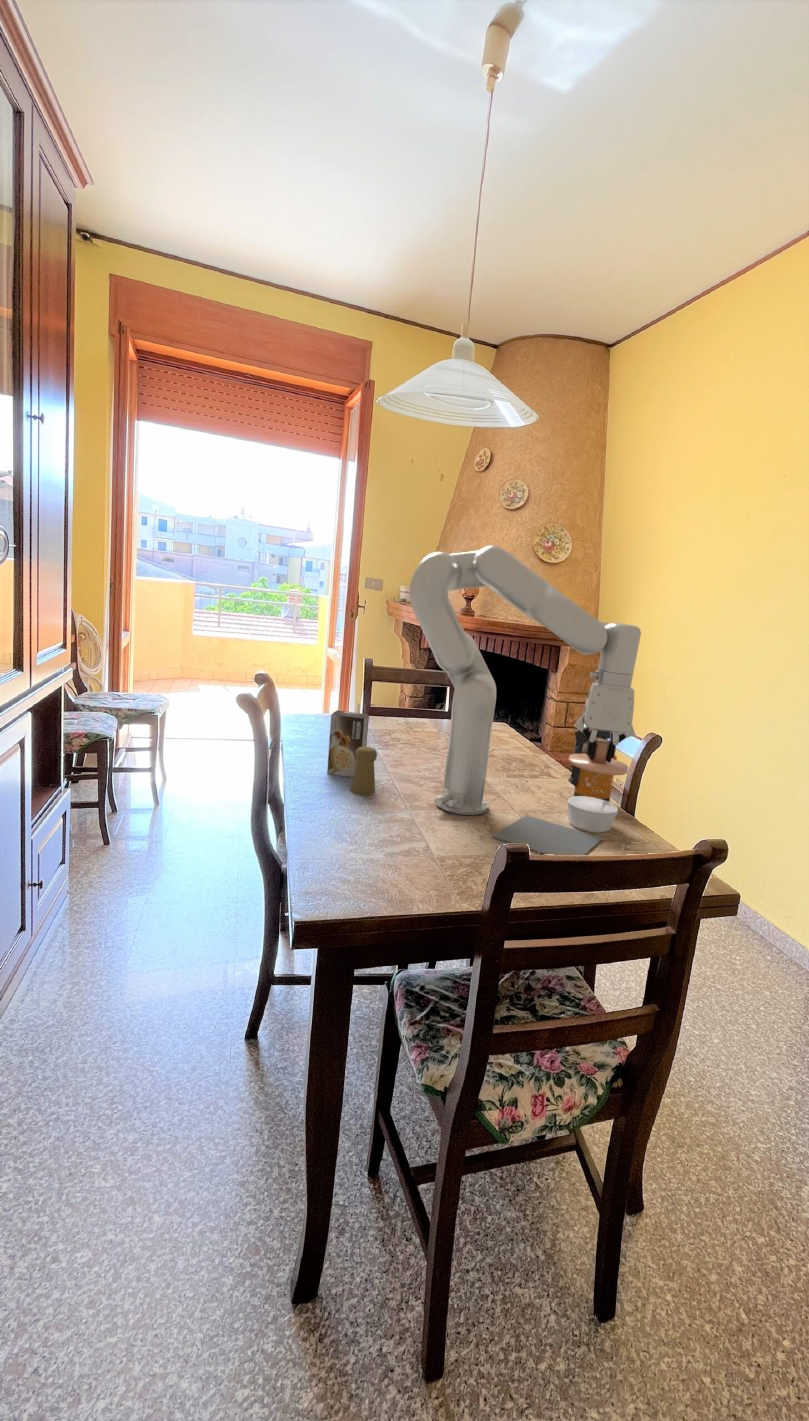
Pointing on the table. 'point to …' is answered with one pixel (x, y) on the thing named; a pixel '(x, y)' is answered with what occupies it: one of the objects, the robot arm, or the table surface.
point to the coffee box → (346, 741)
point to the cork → (364, 771)
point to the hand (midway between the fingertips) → (598, 758)
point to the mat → (547, 837)
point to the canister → (587, 780)
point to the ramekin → (591, 813)
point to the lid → (599, 761)
